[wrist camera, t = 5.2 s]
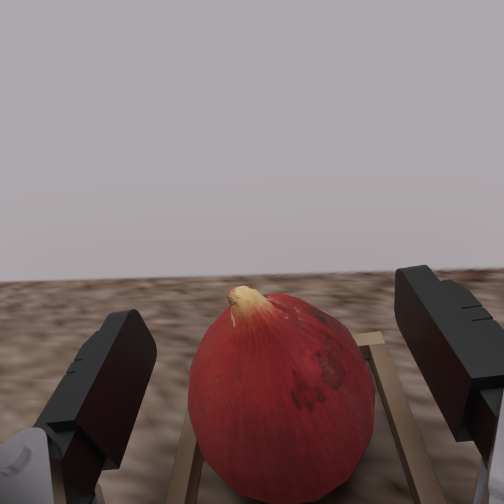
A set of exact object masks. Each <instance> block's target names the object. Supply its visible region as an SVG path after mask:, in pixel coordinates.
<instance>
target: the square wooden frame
mask: <svg viewBox="0 0 504 504" xmlns="http://www.w3.org/2000/svg"><path fill="white" fill-rule="evenodd" d="M352 337H353V338H354V340H355V341H356V343H357V345H358V347H359V350H360V352H361V354H362V356H363V358H364V360H367V359H369V360H370V363H371V367H372V370H373V373H374V376H375V379H376V382H377V386H378V389H379V392H380V395H381V398H382V401H383V405H384V408H385V411H386V414H387V417H388V420H389V424H390V427H391V430H392V433H393V436H394V439H395V443H396V446H397V449H398V452H399V455H400V458H401V462H402V465H403V468H404V471H405V474H406V477H407V481H408V484H409V487H410V490H411V493H412V496H413V500H414V503H415V504H447V502H446V500H445V497H444V494H443V492H442V489H441V487H440V484H439V481H438V479H437V476H436V474H435V471H434V469H433V466H432V463H431V461H430V458H429V456H428V453H427V450H426V448H425V445H424V443H423V440H422V437H421V435H420V432H419V430H418V427H417V425H416V422H415V419H414V417H413V414H412V412H411V409H410V406H409V404H408V401H407V399H406V396H405V394H404V391H403V388H402V386H401V383H400V381H399V378H398V375H397V373H396V370H395V368H394V365H393V363H392V360H391V357H390V355H389V352H388V350H387V347H386V344H385V342H384V339H383V337H382V334H381V332H370V333H361V334H352ZM202 462H203V455H202V453H201V450H200V447H199V444H198V441H197V438H196V435H195V433H194V430H193V427H192V424H191V420H190V416H189V412H188V407H187V412H186V416H185V420H184V424H183V428H182V433H181V437H180V441H179V445H178V450H177V454H176V458H175V462H174V466H173V471H172V475H171V479H170V483H169V488H168V492H167V496H166V500H165V504H195V503H196V497H197V491H198V485H199V479H200V473H201V467H202Z"/></svg>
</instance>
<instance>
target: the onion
mask: <svg viewBox="0 0 504 504" xmlns="http://www.w3.org/2000/svg"><path fill="white" fill-rule="evenodd" d="M227 299H228V301H229V303H230V305H231V307H230V308H228V309H226V310H225V311H224V312H223V313H222V314H221V316H220V317H219V318H218V319H217V320H216V321H215V322H214V323H213V324H212V325H211V326H210V327H209V328H208V330H207V332H206V333H205V335H204V337H203V339H202V342H201V344H200V346H199V348H198V350H197V352H196V354H195V356H194V359H193V362H192V364H191V371H190V381H189V391H188V412H189V416H190V420H191V424H192V427H193V430H194V433H195V435H196V438H197V441H198V444H199V447H200V450H201V453H202V455H203V458H204V460H205V461H206V462H207V463H208V464H209V465H210V466H211V468H212V469H213V470H214V471H215V472H216V473H217V474H218V475H219V476H220V477H221V478H222V479H223V480H224V481H225V482H226V483H227V484H228V485H229V486H230V487H231V488H232V489H233V490H234V491H236V492H237V493H239V494H241V495H243V496H246V497H249V498H252V499H256V500H259V501H262V502H265V503H269V504H300V503H306V502H312V501H318V500H319V499H320V498H322V497H323V496H325V495H326V494H328V493H329V492H331V491H332V490H334V489H335V488H337V487H338V486H339V485H341V484H342V483H344V482H345V481H347V480H348V479H349V478H350V476H351V475H352V473H353V471H354V470H355V468H356V466H357V464H358V463H359V461H360V459H361V458H362V456H363V454H364V453H365V451H366V449H367V447H368V446H369V442H370V439H371V435H372V431H373V420H374V405H375V387H374V384H373V380H372V376H371V373H370V371H369V369H368V367H367V364H366V362H365V360H364V358H363V356H362V354H361V352H360V350H359V347H358V345H357V343H356V341H355V340H354V338H353V337H352V335H351V333H350V332H349V330H348V329H347V328H346V327H345V326H344V325H342V324H341V323H340V322H339V321H338V320H336V319H335V318H333V317H331V316H329V315H328V314H326V313H324V312H322V311H321V310H319V309H317V308H316V307H314V306H312V305H310V304H309V303H307V302H305V301H303V300H301V299H299V298H296V297H292V296H288V295H284V294H266V295H264V294H260V293H259V292H258V291H257V290H255V289H254V288H252V287H247V286H238V287H235V288H233V289H232V290H230V291H229V292H228V296H227Z"/></svg>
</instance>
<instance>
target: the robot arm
mask: <svg viewBox="0 0 504 504" xmlns="http://www.w3.org/2000/svg"><path fill="white" fill-rule="evenodd" d="M394 310H395V317H396V321H397V324H398V327H399V330H400V332H401V334H402V336H403V338H404V339H405V341H406V343H407V345H408V347H409V349H410V351H411V353H412V355H413V357H414V359H415V361H416V363H417V365H418V367H419V369H420V371H421V373H422V375H423V377H424V379H425V381H426V383H427V385H428V387H429V389H430V391H431V393H432V395H433V397H434V399H435V401H436V403H437V405H438V407H439V409H440V411H441V413H442V415H443V417H444V418H445V420H446V422H447V424H448V426H449V428H450V430H451V432H452V434H453V436H454V438H455V440H456V442H464V441H474V443H475V445H476V447H477V448H478V450H479V452H480V454H481V459H480V464H479V469H478V474H477V480H476V485H475V490H474V495H473V500H472V504H504V329H503V328H502V327H501V326H500V325H499V324H498V323H497V321H496V320H495V321H494V320H493V317H492V316H491V315H490V314H489V312H488V311H487V310H486V309H485V308H482V305H481V303H480V302H479V301H478V300H477V299H476V298H475V297H474V295H473V294H472V293H471V292H470V291H469V290H467V289H466V288H464V287H462V286H461V285H459V284H457V283H455V282H454V281H452V280H444V281H439V279H438V278H437V277H436V275H435V274H434V273H433V272H432V270H431V269H430V268H429V267H428V266H427V265H420V266H413V267H407V268H400V269H397V270H396V274H395V303H394ZM156 357H157V348H156V344H155V341H154V339H153V337H152V335H151V333H150V332H149V330H148V328H147V326H146V324H145V322H144V321H143V319H142V317H141V315H140V313H139V312H138V311H137V310H135V309H132V310H126V311H120V312H113V313H110V314H109V315H108V316H107V318H106V320H105V321H104V323H103V325H102V327H101V328H100V330H99V331H96V332H95V333H94V334H93V335H92V336H91V337H90V338H89V339H88V340H87V341H86V342H85V343H84V344H83V345H82V347H81V349H80V350H79V352H78V354H77V355H76V357H75V359H74V362H73V363H72V364H71V365H70V367H69V368H68V370H67V372H66V373H67V374H66V375H64V377H63V378H62V380H61V382H60V383H59V385H58V387H57V388H56V390H55V391H54V393H53V395H52V396H51V398H50V400H49V401H48V403H47V405H46V406H45V408H44V410H43V411H42V413H41V414H40V416H39V418H38V419H37V421H36V423H35V424H34V426H33V427H32V428H28V429H25V430H23V431H20V432H18V433H17V434H15V435H13V436H12V437H10V438H9V439H8V440H6V441H5V442H4V443H3V444H2V445H1V446H0V504H105V501H104V497H103V493H102V489H101V486H100V485H99V483H98V479H99V476H100V474H101V471H102V470H112V469H119V468H120V465H121V462H122V459H123V456H124V453H125V450H126V447H127V444H128V441H129V438H130V435H131V432H132V429H133V426H134V423H135V420H136V418H137V415H138V412H139V409H140V406H141V403H142V400H143V397H144V394H145V391H146V388H147V385H148V382H149V379H150V376H151V373H152V370H153V367H154V365H155V362H156Z"/></svg>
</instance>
